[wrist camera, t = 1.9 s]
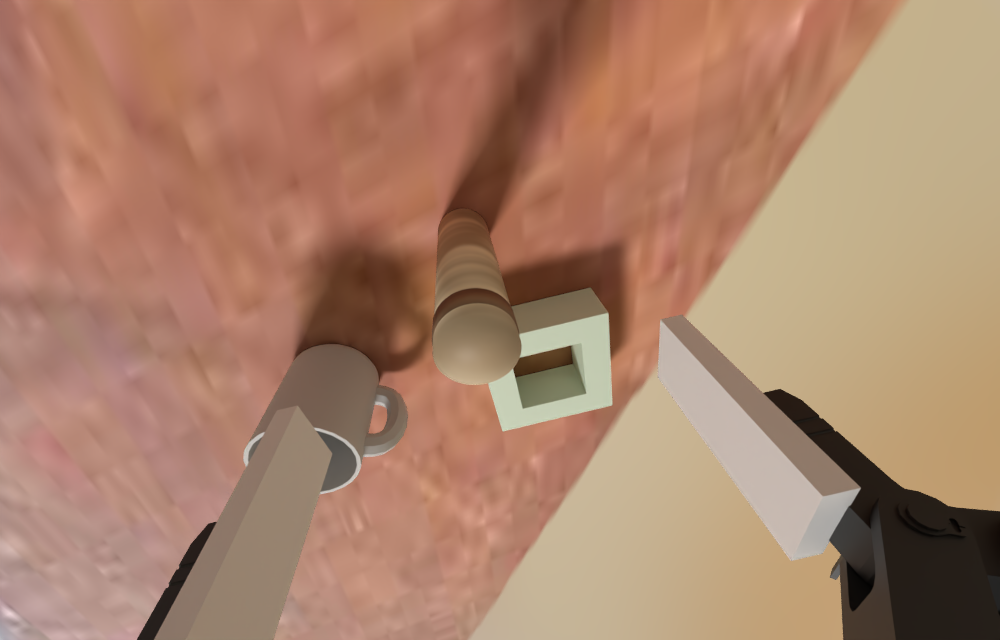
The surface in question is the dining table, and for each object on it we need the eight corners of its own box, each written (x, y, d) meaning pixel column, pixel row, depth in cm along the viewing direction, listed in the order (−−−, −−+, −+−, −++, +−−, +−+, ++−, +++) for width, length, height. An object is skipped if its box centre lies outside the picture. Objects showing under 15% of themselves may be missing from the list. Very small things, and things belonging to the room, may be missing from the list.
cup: (290, 335, 29) (237, 421, 22) (417, 351, 32) (408, 433, 24) (292, 400, 33) (248, 493, 25) (406, 410, 35) (396, 497, 28)
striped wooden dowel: (430, 214, 26) (418, 325, 14) (482, 202, 25) (514, 302, 14) (445, 262, 28) (445, 394, 16) (493, 250, 28) (529, 374, 16)
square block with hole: (472, 315, 30) (476, 344, 27) (590, 287, 30) (608, 312, 27) (497, 399, 36) (502, 431, 33) (596, 375, 36) (612, 405, 33)
